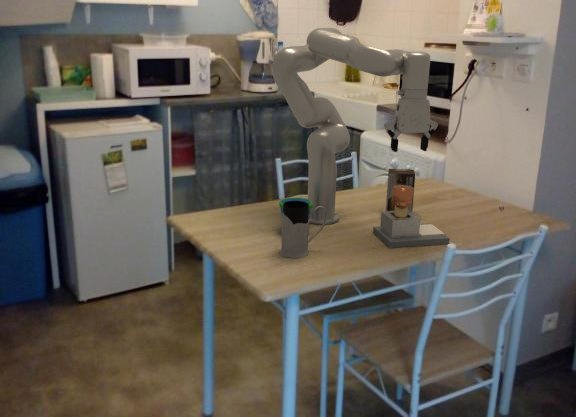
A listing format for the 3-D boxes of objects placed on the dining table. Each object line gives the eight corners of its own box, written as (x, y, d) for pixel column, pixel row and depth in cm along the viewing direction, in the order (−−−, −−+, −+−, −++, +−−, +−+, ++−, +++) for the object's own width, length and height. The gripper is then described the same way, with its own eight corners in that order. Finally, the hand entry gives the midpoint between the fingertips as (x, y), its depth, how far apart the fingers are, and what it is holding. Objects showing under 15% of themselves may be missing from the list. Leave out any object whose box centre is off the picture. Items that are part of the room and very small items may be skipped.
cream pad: (421, 236, 194) (421, 235, 194) (409, 227, 203) (409, 225, 202) (444, 235, 196) (444, 233, 196) (431, 225, 205) (431, 224, 204)
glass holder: (275, 248, 187) (276, 201, 182) (319, 244, 192) (321, 197, 187) (285, 259, 179) (287, 210, 174) (330, 254, 184) (333, 206, 179)
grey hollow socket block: (391, 238, 192) (392, 220, 190) (380, 228, 200) (381, 211, 198) (418, 237, 194) (420, 219, 192) (406, 227, 203) (408, 209, 201)
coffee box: (410, 212, 224) (414, 169, 219) (412, 218, 218) (416, 173, 213) (384, 211, 225) (388, 167, 220) (385, 216, 219) (389, 172, 214)
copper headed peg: (393, 237, 193) (397, 190, 189) (385, 230, 199) (389, 185, 195) (412, 235, 195) (417, 190, 190) (404, 229, 201) (408, 184, 196)
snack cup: (273, 224, 207) (274, 195, 204) (304, 223, 210) (305, 194, 207) (285, 241, 193) (285, 210, 190) (317, 239, 196) (318, 208, 192)
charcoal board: (389, 248, 190) (390, 241, 189) (372, 232, 203) (373, 226, 202) (449, 244, 195) (449, 238, 194) (428, 229, 208) (429, 223, 207)
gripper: (392, 96, 180) (387, 154, 185) (446, 96, 184) (440, 152, 189) (382, 92, 187) (377, 148, 192) (434, 92, 191) (429, 147, 196)
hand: (408, 150), depth 190 cm, fingers open, 9 cm apart
